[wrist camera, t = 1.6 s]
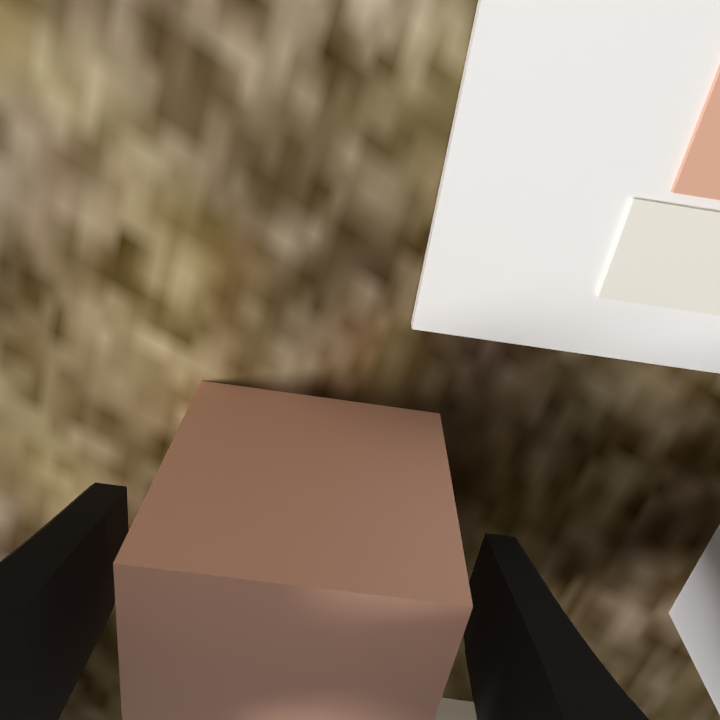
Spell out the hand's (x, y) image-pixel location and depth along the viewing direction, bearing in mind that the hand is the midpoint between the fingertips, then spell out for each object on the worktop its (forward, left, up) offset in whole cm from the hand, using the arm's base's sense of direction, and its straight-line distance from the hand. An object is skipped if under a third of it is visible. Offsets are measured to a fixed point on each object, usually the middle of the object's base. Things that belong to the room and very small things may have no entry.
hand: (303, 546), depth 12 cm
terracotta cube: (0, 0, -2) cm, 2 cm away
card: (+6, +8, -2) cm, 10 cm away
